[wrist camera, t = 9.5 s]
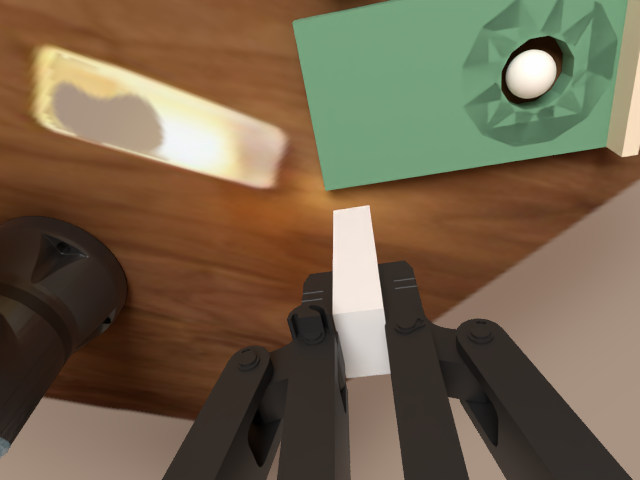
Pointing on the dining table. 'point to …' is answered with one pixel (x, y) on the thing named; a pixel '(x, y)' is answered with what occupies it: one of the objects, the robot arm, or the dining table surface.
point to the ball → (530, 74)
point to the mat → (464, 85)
